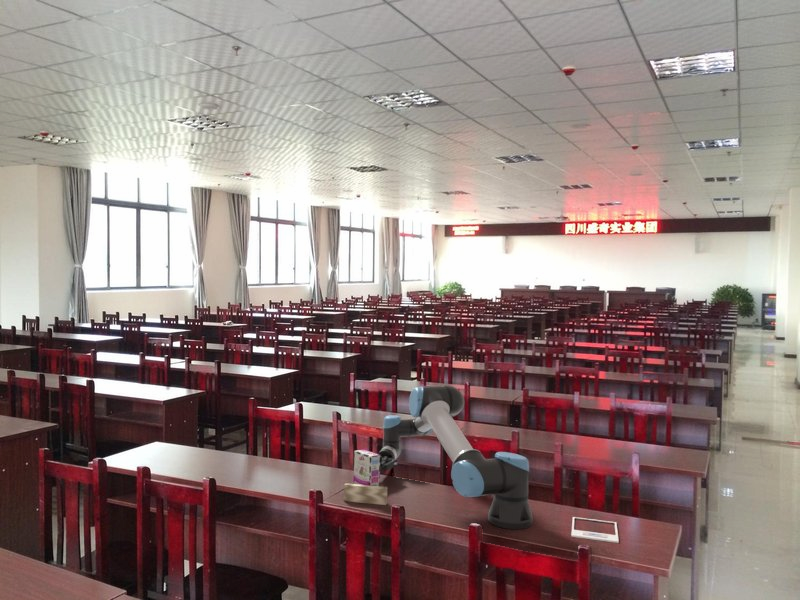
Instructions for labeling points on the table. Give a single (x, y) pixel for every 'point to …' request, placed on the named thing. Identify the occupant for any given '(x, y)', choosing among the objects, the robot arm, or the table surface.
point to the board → (365, 494)
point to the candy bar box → (366, 468)
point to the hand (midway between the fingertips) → (373, 472)
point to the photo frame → (595, 535)
